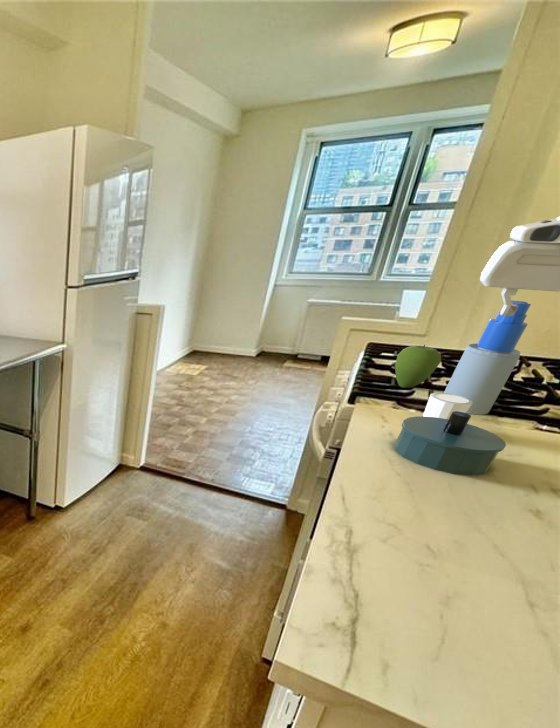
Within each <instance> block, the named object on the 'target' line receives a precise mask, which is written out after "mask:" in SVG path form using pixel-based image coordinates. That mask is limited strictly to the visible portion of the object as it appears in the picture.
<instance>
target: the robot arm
mask: <svg viewBox="0 0 560 728" xmlns="http://www.w3.org/2000/svg"><path fill="white" fill-rule="evenodd" d="M509 238H510V239H511V240H509V241H507V242H505V243H503V244H502V245H501V246H499V247H498V248H497V250H495V252H494V253H493V254H492V256H491V258H490V259H489V260H488V262H487V264H486V265H485V267H484V269H483V270H482V272H481V275H480V277H479V281H480V283H481V284H482V285H483V286H484V287H487V288H499V289H502V290H501V291H500V295H501V299H502V302H503V306H502V308H501V310H500V311H499V312H500V315H503V316H514V314H515V311H516V310H517V309H518V307H519V306H517V305H514V304H512V301H513V300H512V298H511V296H516V295H517V293H518V291H519V290H528V291H529V290H530V291H544V292H556V293H560V216H558V217H556V218H551V219H545V220H541V221H536V222H530V223H526V224H521V225H517V226H515V227H514V228H513V229H512V231H511V232H510V236H509Z"/></svg>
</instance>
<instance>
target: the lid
mask: <svg viewBox="0 0 560 728" xmlns="http://www.w3.org/2000/svg"><path fill="white" fill-rule="evenodd" d="M471 417H472V414H468V413H464V412H458V411H454V412H452V414H451V416H450V418H449V419H443V418H436V417H423V416H410V417H407V418H405V419H403V420H402V423H401V428H403V429H404V430H405V431H407V432H408V433H410V434H411V435H413V436H415V437H417V438H419V439H422V440H424V441H427V442H430V443H433V444H436V445H439V446H443V447H446V448H451V449H455V450H460V451H466V452H474V453H496V452H498V453H500V452H502V451H504V450H505V448H506V447H507V443H506V441H505V440H504V439H503V438H501V437H500V436H499V435H497V434H495V433H494V432H492V431H489V430H487V429H484V428H481V427H478V426H475V425H473V424H469V421H470V419H471Z"/></svg>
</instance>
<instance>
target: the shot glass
mask: <svg viewBox="0 0 560 728" xmlns="http://www.w3.org/2000/svg"><path fill="white" fill-rule="evenodd" d="M471 405H472V401H471V400H469V399H467V398H464V397H461V396H458V395H453V394H448V393H444V392H431V393H430V395H429V397H428V401H427V403H426V405H425V409H424V411H423V414H422V417H436V418H443V419H449V418H450V416H451V414H452V412H454V411H458V412H464V413H466V412H467V411H468V409H469V408H470V406H471Z"/></svg>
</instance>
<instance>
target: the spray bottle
mask: <svg viewBox="0 0 560 728" xmlns="http://www.w3.org/2000/svg"><path fill="white" fill-rule="evenodd" d="M511 301H512V304H514V305H517V306H519V307H518V309H517V310H516V311H515V314H514V316H503V315H500V312H501V311H498V313H497V315H496V317H495V318H490V319H489V321H488V322H487V324H486V327H485V328H484V329H483V330H484V331H483V333H482V335H481V336H480V338H479V340H478V342H477V343H470V344H468V346H467V347H466V348H465V350H464V351H463V354H462V356H461V357H460V358H459V359H460V360H459V361H458V363H457V365H456V367H455V369H454V371H453V373H452V375H451V377H450V380H449V381H448V383H447V385H446V387H445V390H444V391H443V393H448V394H453V395H458V396H461V397H464V398H467V399H469V400H471V401H472V405H471V406H470V408H469V409H468V411H467V412H466V413H467V414H469V415H480V416H481V415H487V414H489V413H490V411H491V409H492V408H493V406H494V405H495V403H496V401H497V399H498V397H499V395H500V394H501V392H502V390H503V388H504V386H505V385H506V383H507V381H508V379H509V378H510V375H511V374H512V372H513V370H514V368H515V366H516V365H517V363H518V361H519V359H520V357H521V356H520V355H521V351H520V350H518V349H515V348H516V346H517V345H518V343H519V341H520V339H521V337H522V336H523V334H524V332H525V330H526V329H527V326H528V323H527V322H525V320H526V318H527V316H528V315H527V313H528V311H529V309H530V307H531V303H528V301H523V300H511Z"/></svg>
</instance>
